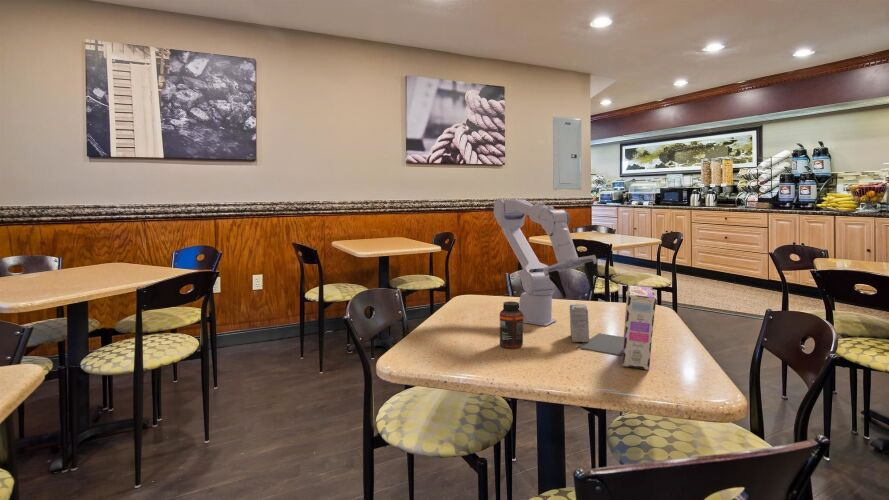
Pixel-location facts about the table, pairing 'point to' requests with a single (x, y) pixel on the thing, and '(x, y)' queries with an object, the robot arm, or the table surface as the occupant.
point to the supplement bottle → (511, 326)
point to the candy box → (638, 326)
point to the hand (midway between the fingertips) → (578, 293)
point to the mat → (604, 344)
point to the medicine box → (579, 323)
